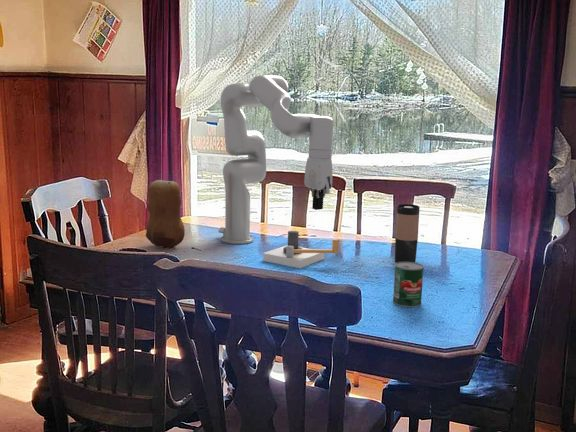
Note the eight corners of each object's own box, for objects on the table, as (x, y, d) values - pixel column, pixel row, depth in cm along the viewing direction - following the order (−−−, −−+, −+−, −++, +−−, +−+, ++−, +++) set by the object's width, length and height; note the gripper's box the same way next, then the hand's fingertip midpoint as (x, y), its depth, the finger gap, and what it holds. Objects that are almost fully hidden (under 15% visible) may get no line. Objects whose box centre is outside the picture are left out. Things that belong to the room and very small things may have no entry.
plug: (279, 259, 214) (280, 232, 212) (290, 255, 219) (290, 229, 217) (295, 262, 210) (296, 235, 208) (305, 259, 215) (306, 231, 214)
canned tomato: (404, 296, 183) (407, 260, 181) (426, 303, 177) (429, 266, 175) (386, 301, 178) (389, 264, 176) (409, 309, 172) (411, 270, 170)
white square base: (262, 264, 213) (263, 253, 212) (287, 255, 225) (288, 244, 224) (300, 272, 204) (300, 260, 204) (323, 262, 217) (324, 251, 216)
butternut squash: (178, 241, 241) (178, 177, 236) (189, 249, 230) (188, 181, 225) (142, 244, 235) (141, 178, 231) (151, 253, 224) (149, 183, 219)
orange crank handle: (285, 255, 209) (286, 238, 208) (337, 255, 210) (338, 239, 209) (286, 257, 206) (286, 240, 205) (338, 257, 208) (339, 240, 207)
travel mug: (417, 260, 222) (421, 205, 218) (414, 266, 215) (418, 208, 211) (395, 258, 225) (399, 203, 221) (392, 263, 218) (395, 206, 214)
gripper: (297, 152, 210) (295, 205, 214) (324, 157, 198) (321, 214, 202) (315, 151, 215) (313, 204, 218) (343, 156, 203) (340, 212, 206)
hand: (317, 208), depth 210 cm, fingers closed
